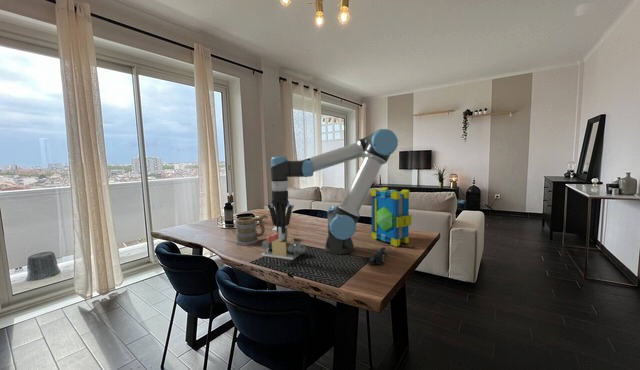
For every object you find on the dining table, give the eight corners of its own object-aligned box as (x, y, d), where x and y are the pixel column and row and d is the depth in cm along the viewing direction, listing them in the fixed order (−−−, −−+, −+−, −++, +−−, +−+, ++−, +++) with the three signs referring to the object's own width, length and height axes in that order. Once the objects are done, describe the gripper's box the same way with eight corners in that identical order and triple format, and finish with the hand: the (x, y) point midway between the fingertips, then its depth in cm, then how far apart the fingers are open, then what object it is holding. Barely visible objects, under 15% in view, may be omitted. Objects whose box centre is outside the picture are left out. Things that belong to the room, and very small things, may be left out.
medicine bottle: (283, 241, 159) (283, 221, 158) (272, 240, 160) (271, 221, 159) (287, 238, 166) (286, 218, 165) (276, 237, 167) (275, 218, 166)
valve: (309, 251, 140) (308, 238, 139) (297, 260, 128) (297, 245, 127) (271, 247, 149) (271, 234, 148) (257, 254, 137) (256, 241, 136)
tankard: (238, 246, 151) (236, 220, 150) (233, 241, 162) (232, 216, 161) (272, 240, 161) (271, 216, 159) (265, 236, 172) (264, 212, 170)
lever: (281, 237, 140) (281, 229, 140) (288, 238, 138) (288, 229, 138) (264, 246, 126) (264, 236, 126) (271, 246, 125) (271, 237, 124)
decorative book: (395, 248, 141) (395, 191, 138) (366, 238, 161) (365, 188, 158) (413, 244, 148) (414, 189, 145) (384, 234, 168) (384, 186, 165)
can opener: (382, 268, 117) (382, 255, 116) (367, 265, 120) (367, 253, 119) (391, 255, 132) (391, 244, 132) (377, 253, 135) (377, 242, 135)
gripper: (263, 190, 124) (265, 240, 126) (288, 191, 119) (289, 243, 121) (272, 189, 131) (274, 236, 133) (296, 189, 126) (297, 239, 128)
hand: (281, 239), depth 127 cm, fingers closed
